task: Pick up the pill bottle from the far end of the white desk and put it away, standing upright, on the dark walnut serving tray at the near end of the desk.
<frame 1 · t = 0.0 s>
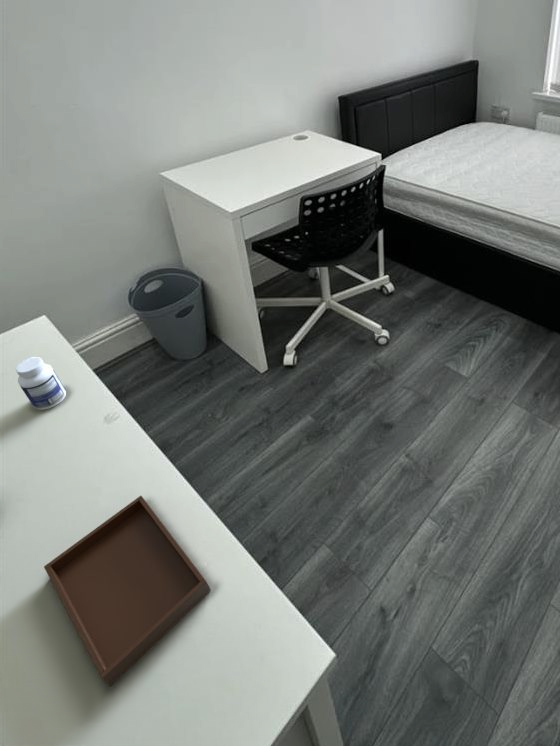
pill bottle: (50, 400, 94), on the table
tray: (130, 583, 67), on the table
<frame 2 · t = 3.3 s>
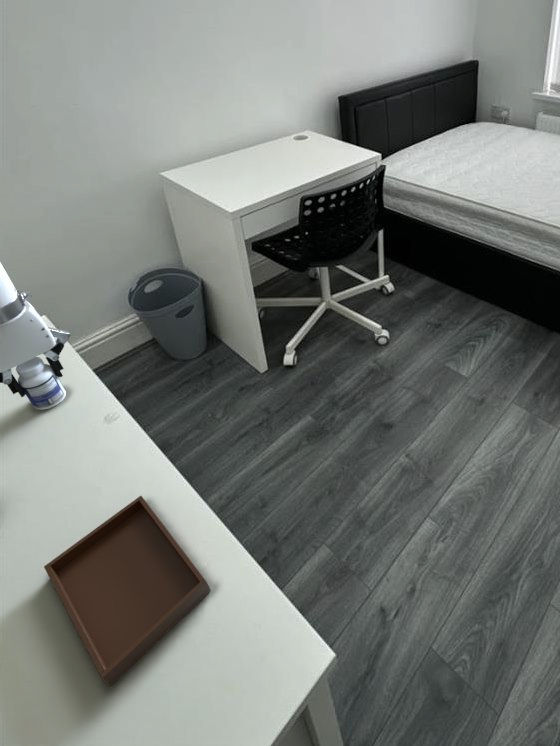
hand: (39, 382, 91), 5 cm above the table, tool pointing down, fingers closed on pill bottle, 5 cm apart
pill bottle: (50, 400, 94), on the table, touching gripper
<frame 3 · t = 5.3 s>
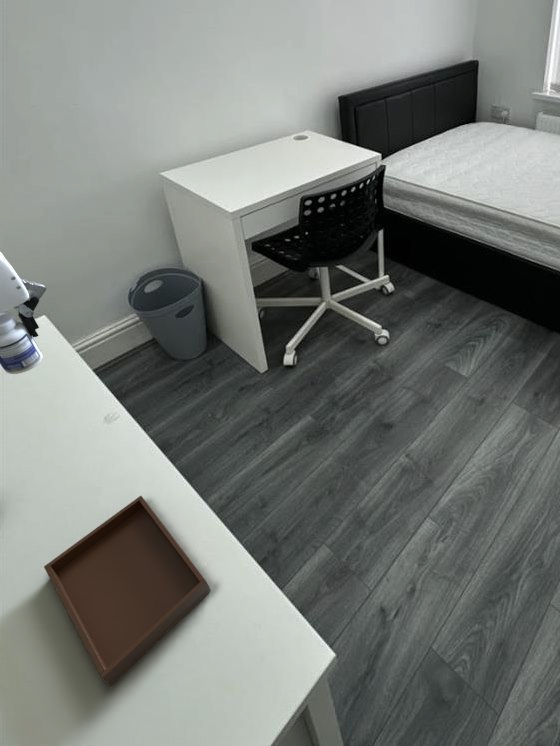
hand: (11, 342, 79), 19 cm above the table, tool pointing down, fingers closed on pill bottle, 5 cm apart
pill bottle: (25, 364, 82), point 14 cm above the table, touching gripper
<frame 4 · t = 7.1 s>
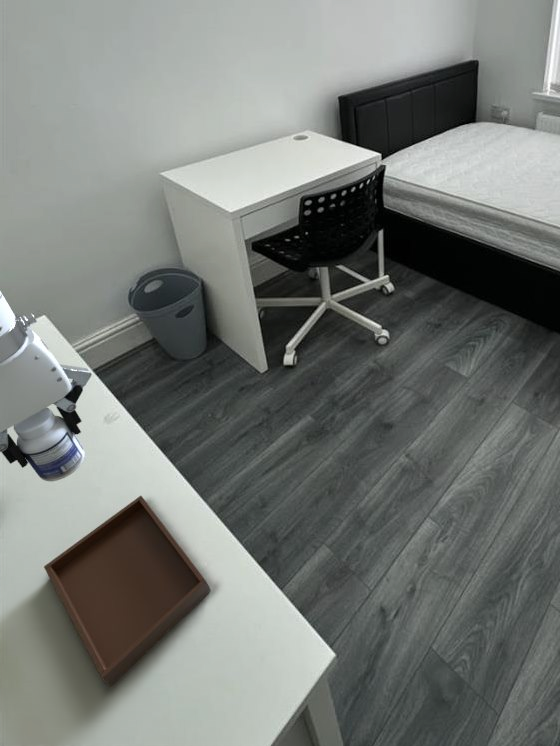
hand: (48, 442, 63), 20 cm above the table, tool pointing down, fingers closed on pill bottle, 5 cm apart
pill bottle: (63, 465, 66), point 15 cm above the table, touching gripper
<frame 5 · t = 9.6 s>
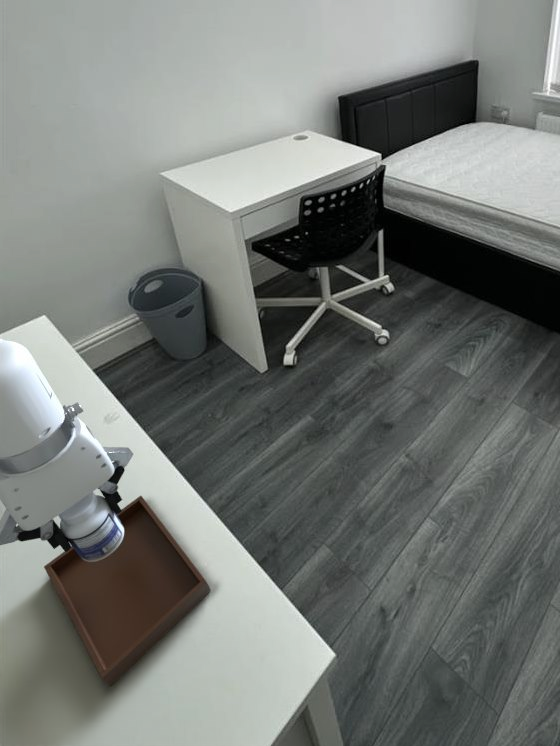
hand: (90, 523, 63), 11 cm above the table, tool pointing down, fingers closed on pill bottle, 5 cm apart
pill bottle: (103, 542, 66), point 6 cm above the table, touching gripper
when the fingers open (6 cm above the table, at t = 11.3 s): pill bottle stays where it is, resting on tray.
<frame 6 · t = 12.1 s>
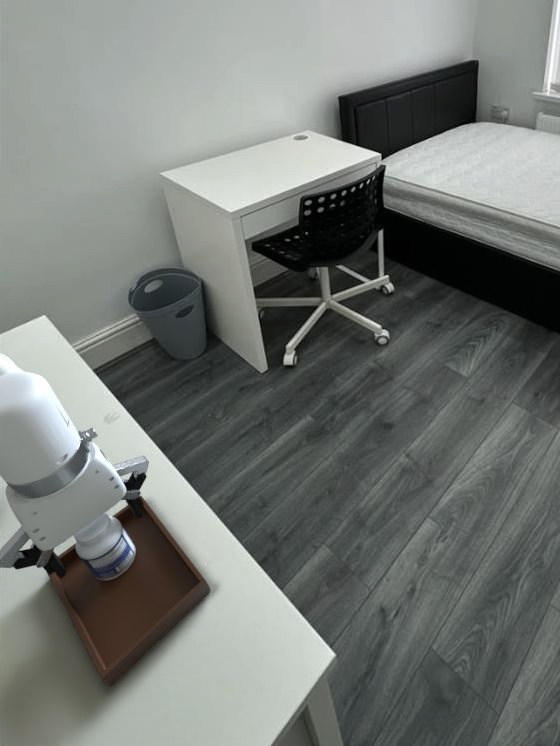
hand: (100, 538, 65), 7 cm above the table, tool pointing down, fingers open, 9 cm apart
pill bottle: (116, 561, 69), point 1 cm above the table, touching tray
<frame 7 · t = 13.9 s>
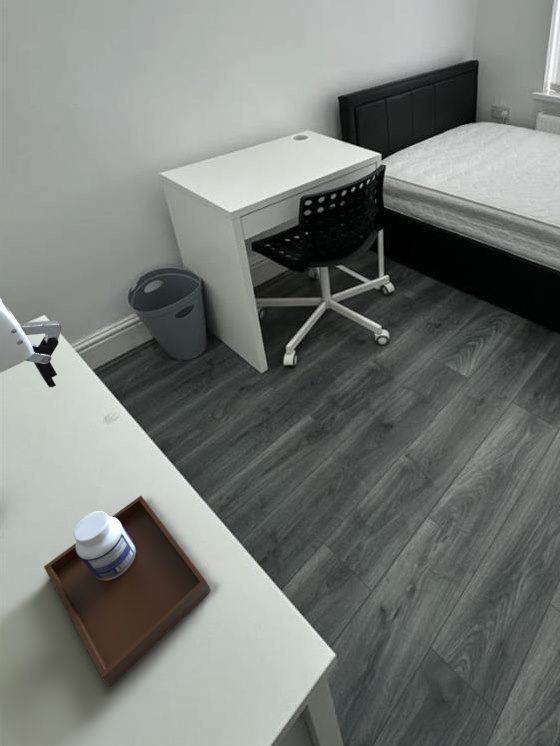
hand: (6, 403, 62), 25 cm above the table, tool pointing down, fingers open, 9 cm apart
nothing on the table moved.
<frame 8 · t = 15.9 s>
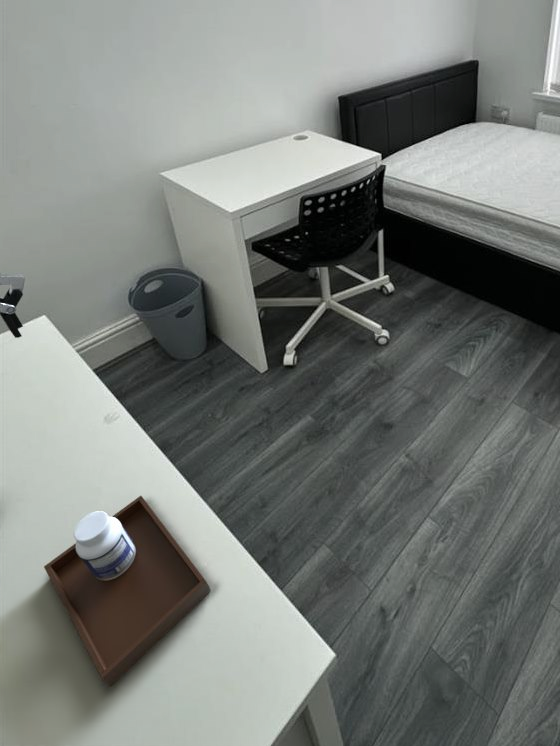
nothing on the table moved.
at the end: pill bottle inside the target area in the tray (0.3 cm from its centre), point 0.6 cm above the tray's base; pill bottle tilted 0°; the gripper is holding nothing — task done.
